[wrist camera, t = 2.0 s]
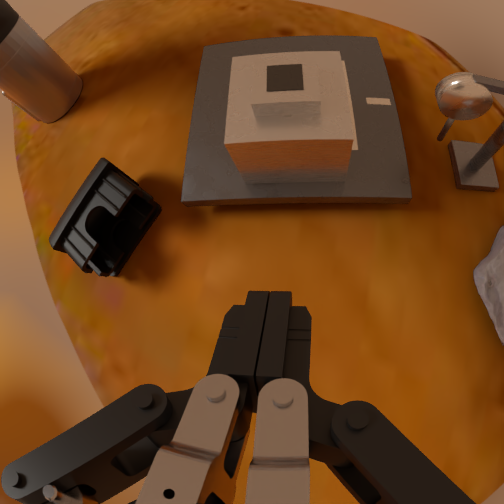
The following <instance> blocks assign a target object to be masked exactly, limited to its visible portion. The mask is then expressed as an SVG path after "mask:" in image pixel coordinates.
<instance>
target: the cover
mask: <svg viewBox="0 0 504 504" xmlns="http://www.w3.org/2000/svg"><path fill="white" fill-rule="evenodd" d="M353 140H354V138H353V130H352V123H351V115H350V108H349V102H348V95H347V89H346V83H345V77H344V72H343V66H342V61H341V56H340V51H304V52H282V53H268V54H256V55H247V56H238V57H232V65H231V75H230V84H229V95H228V105H227V116H226V127H225V139H224V145H225V147H226V148H227V150H228V152H229V154H230V156H231V158H232V160H233V161H234V163H235V165H236V167H237V169H238V171H239V173H240V175H241V177H242V178H243V180H244V182H245V184H261V183H297V182H345V180H346V175H347V171H348V166H349V161H350V156H351V151H352V145H353Z"/></svg>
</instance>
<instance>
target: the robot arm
mask: <svg viewBox="0 0 504 504" xmlns="http://www.w3.org/2000/svg"><path fill="white" fill-rule="evenodd" d="M82 84H83V83H82V79H81V78H80V77H79V76H78V75H77V74H76V73H75V72H74V71H73V70H72V69H71V68H70V67H69V66H68V65H67V64H66V63H65V62H64V60H63V59H62V58H61V57H60V56H59V55H58V54H57V53H56V52H55V51H54V50H53V49H52V48H51V47H50V46H49V45H48V44H47V43H46V42H45V41H44V40H43V39H42V38H41V37H40V36H39V35H38V34H37V33H36V32H35V31H34V30H33V29H32V28H31V27H30V26H29V25H28V24H27V23H26V22H25V21H24V20H23V19H22V18H21V17H20V16H19V15H18V14H17V13H16V12H15V11H14V10H13V8H12V7H11V6H10V5H9V4H8V3H7V2H6V1H5V0H0V89H1V90H2V94H3V95H4V96H5V97H7V98H8V99H9V100H10V101H12V102H13V103H14V104H16V105H17V106H18V107H20V108H21V109H22V110H24V111H25V112H26V113H28V114H29V115H30V116H32V117H33V118H34V119H36V120H37V121H39V120H41V121H43V122H44V123H51V122H54V121H56V120H57V119H59V118H60V117H62V116H63V115H64V114H65V113H66V112H67V111H68V110H69V109H70V108H71V107H72V106H73V104H74V103H75V102H76V100H77V98H78V97H79V94H80V92H81V89H82ZM310 347H311V315H310V313H309V312H308V310H307V308H306V306H292V292H291V291H271V292H270V291H249V292H248V295H247V299H246V303H245V305H233V307H232V308H231V309H230V310H229V311H228V312H227V313H226V315H225V317H224V320H223V324H222V329H221V330H220V334H219V338H218V340H217V344H216V347H215V350H214V354H213V357H212V360H211V364H210V367H209V370H208V373H207V375H206V377H204V378H202V379H201V380H200V381H199V382H198V383H197V384H196V385H195V387H193V388H191V389H188V390H184V391H177V392H170V393H165V392H164V391H163V390H162V389H161V388H160V387H159V386H156V385H153V384H144V385H140V386H138V387H136V388H134V389H133V390H131V391H130V392H128V393H126V394H125V395H123V396H122V397H120V398H119V399H117V400H115V401H114V402H112V403H111V404H109V405H108V406H106V407H104V408H103V409H101V410H100V411H98V412H96V413H95V414H93V415H92V416H90V417H88V418H87V419H85V420H83V421H82V422H80V423H78V424H77V425H75V426H74V427H72V428H70V429H69V430H67V431H65V432H64V433H62V434H60V435H59V436H57V437H55V438H53V439H52V440H50V441H48V442H47V443H45V444H43V445H42V446H40V447H38V448H36V449H35V450H33V451H31V452H29V453H28V454H26V455H24V456H22V457H20V458H19V459H17V460H15V461H14V462H12V463H10V464H8V466H6V467H5V469H4V470H3V473H2V477H1V482H2V487H3V489H4V491H5V493H6V494H7V495H8V496H10V497H11V498H13V499H15V500H17V501H19V502H21V503H23V504H100V503H103V502H104V501H106V500H108V499H110V498H111V497H113V496H115V495H117V494H118V493H120V492H122V491H123V490H125V489H126V488H128V487H130V486H131V485H133V484H135V483H136V482H138V481H140V480H141V479H143V478H144V477H146V476H147V477H146V480H145V482H144V484H143V487H142V489H141V491H140V494H139V496H138V499H137V500H135V501H132V502H130V503H128V504H233V501H234V497H235V492H236V480H237V475H238V472H239V469H240V465H241V462H242V458H243V455H244V451H245V448H246V444H247V441H248V437H249V433H250V423H251V417H252V412H253V413H257V418H256V429H255V441H254V452H253V459H252V461H251V463H250V466H249V472H248V481H247V491H246V501H245V504H309V494H310V466H309V458H311V459H314V460H317V461H320V462H324V463H325V464H326V465H327V466H328V468H329V469H330V470H331V471H332V472H333V473H334V475H335V476H336V477H337V478H338V479H339V480H340V482H341V483H342V484H343V485H344V486H345V487H346V488H347V490H348V491H349V492H350V493H351V494H352V495H353V496H354V497H355V499H356V500H357V501H358V502H359V503H360V504H476V503H475V502H474V501H473V500H471V499H470V498H469V497H468V496H467V495H466V494H465V493H464V492H463V491H462V490H461V489H460V488H459V487H458V486H456V485H455V484H454V483H453V482H452V481H451V480H450V479H449V478H448V477H447V476H446V475H445V474H444V473H443V472H442V471H441V470H440V469H439V468H437V467H436V466H435V465H434V464H433V463H432V462H431V461H430V460H429V459H428V458H427V457H426V456H425V455H424V454H423V453H422V452H421V451H420V450H419V449H418V448H417V447H416V446H415V445H414V444H413V443H411V442H410V441H409V440H408V439H407V438H406V437H405V436H404V435H403V434H402V433H401V432H400V431H399V430H398V429H397V428H396V427H395V426H394V425H393V424H392V423H391V422H390V421H389V420H388V419H387V418H386V417H385V416H384V415H383V414H382V413H381V412H380V411H379V410H378V409H377V408H376V407H375V406H373V405H372V404H370V403H368V402H365V401H350V402H347V403H345V404H343V405H339V404H336V403H333V402H330V401H327V400H324V399H322V398H320V397H319V396H318V395H316V393H315V392H314V391H313V390H312V388H311V386H310V382H309V369H310Z"/></svg>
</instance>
